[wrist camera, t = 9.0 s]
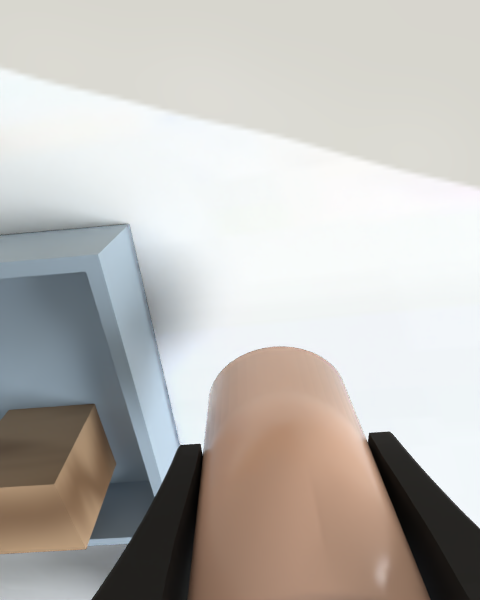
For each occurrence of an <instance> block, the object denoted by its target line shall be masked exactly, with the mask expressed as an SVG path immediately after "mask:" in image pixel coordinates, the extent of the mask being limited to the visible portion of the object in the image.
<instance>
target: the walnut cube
mask: <svg viewBox="0 0 480 600" xmlns="http://www.w3.org/2000/svg"><path fill="white" fill-rule="evenodd" d="M115 466H116V461H115V459H114V456H113V453H112V450H111V448H110V445H109V442H108V439H107V436H106V434H105V431H104V428H103V425H102V423H101V420H100V417H99V414H98V411H97V409H96V406H95V404H84V405H69V406H55V407H41V408H27V409H13V410H8V411H7V413H6V414H5V415H4V417H3V418H2V419H1V420H0V554H9V553H27V552H46V551H64V550H82V549H86V548H87V546H88V543H89V540H90V537H91V534H92V531H93V529H94V526H95V523H96V520H97V517H98V514H99V512H100V509H101V506H102V503H103V500H104V498H105V495H106V492H107V489H108V486H109V483H110V481H111V478H112V475H113V472H114V469H115Z"/></svg>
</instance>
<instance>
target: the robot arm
mask: <svg viewBox="0 0 480 600" xmlns="http://www.w3.org/2000/svg"><path fill="white" fill-rule="evenodd" d="M368 445H369V447H370V450H371V452H372V455H373V457H374V460H375V462H376V465H377V467H378V470H379V472H380V475H381V477H382V480H383V482H384V485H385V487H386V490H387V492H388V495H389V497H390V500H391V502H392V504H393V507H394V509H395V512H396V514H397V517H398V519H399V522H400V524H401V527H402V529H403V532H404V534H405V537H406V539H407V542H408V544H409V547H410V549H411V552H412V554H413V557H414V559H415V562H416V564H417V567H418V569H419V572H420V574H421V577H422V579H423V582H424V584H425V587H426V589H427V592H428V594H429V597H430V599H431V600H480V528H479V527H478V526H477V525H476V524H475V523H474V522H473V521H471V520H470V519H469V518H468V517H467V516H466V515H465V514H464V513H463V512H462V511H461V510H460V509H459V507H458V506H457V505H456V504H455V503H454V502H453V501H452V500H451V499H450V498H449V497H448V496H447V495H446V494H445V493H444V492H443V491H442V490H441V489H440V488H439V486H438V485H437V484H436V483H435V482H434V481H433V480H432V479H431V478H430V477H429V476H428V475H427V473H426V472H425V471H424V470H423V469H422V468H421V467H420V466H419V464H418V463H417V462H416V461H415V460H414V459H413V458H412V456H411V455H410V454H409V453H408V452H407V451H406V449H405V448H404V447H403V446H402V445H401V443H400V442H399V441H398V440H397V439H396V437H395V436H394V435H393V434H392V433H391V432H377V433H369V439H368ZM202 459H203V455H202V450H201V444H190V445H180V446H179V447H178V448H177V451H176V453H175V456H174V458H173V460H172V463H171V465H170V467H169V469H168V471H167V474H166V476H165V478H164V480H163V482H162V484H161V486H160V488H159V490H158V492H157V494H156V496H155V498H154V499H153V501H152V503H151V505H150V507H149V509H148V511H147V513H146V514H145V516H144V518H143V520H142V522H141V523H140V525H139V527H138V528H137V530H136V532H135V533H134V535H133V537H132V538H131V540H130V542H129V544H128V545H127V547H126V549H125V550H124V552H123V553H122V555H121V557H120V558H119V560H118V561H117V563H116V564H115V566H114V567H113V569H112V571H111V572H110V574H109V575H108V576H107V578H106V579H105V581H104V582H103V584H102V585H101V587H100V588H99V590H98V591H97V593H96V594H95V595H94V597H93V598H92V600H187V599H188V590H189V580H190V571H191V561H192V552H193V543H194V533H195V524H196V515H197V505H198V496H199V487H200V477H201V468H202Z"/></svg>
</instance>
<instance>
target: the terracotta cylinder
mask: <svg viewBox="0 0 480 600" xmlns="http://www.w3.org/2000/svg"><path fill="white" fill-rule="evenodd" d="M187 600H431V599H430V597H429V594H428V592H427V589H426V587H425V584H424V582H423V579H422V577H421V574H420V572H419V569H418V567H417V564H416V562H415V559H414V557H413V554H412V552H411V549H410V547H409V544H408V542H407V539H406V537H405V534H404V532H403V529H402V527H401V524H400V522H399V519H398V517H397V514H396V512H395V509H394V507H393V504H392V502H391V500H390V497H389V495H388V492H387V490H386V487H385V485H384V482H383V480H382V477H381V475H380V472H379V470H378V467H377V465H376V462H375V460H374V457H373V455H372V452H371V450H370V447H369V445H368V442H367V440H366V437H365V435H364V432H363V430H362V427H361V425H360V422H359V420H358V417H357V415H356V412H355V410H354V407H353V405H352V402H351V400H350V397H349V395H348V392H347V390H346V388H345V385H344V383H343V380H342V378H341V376H340V375H339V373H338V371H337V370H336V369H335V368H334V367H333V366H332V365H331V364H330V363H329V362H328V361H326V360H325V359H323V358H322V357H320V356H318V355H316V354H314V353H312V352H309V351H306V350H303V349H299V348H294V347H268V348H262V349H258V350H254V351H252V352H249V353H246V354H244V355H242V356H240V357H238V358H237V359H235V360H234V361H232V362H231V363H229V364H228V365H227V366H226V367H225V368H224V369H223V370H222V371H221V372H220V373H219V374H218V376H217V378H216V379H215V381H214V383H213V385H212V387H211V390H210V394H209V403H208V412H207V421H206V431H205V440H204V449H203V459H202V468H201V477H200V487H199V496H198V505H197V515H196V524H195V533H194V543H193V552H192V561H191V571H190V580H189V590H188V599H187Z"/></svg>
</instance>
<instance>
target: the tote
mask: <svg viewBox="0 0 480 600" xmlns="http://www.w3.org/2000/svg"><path fill="white" fill-rule="evenodd" d="M84 404H95V406H96V409H97V411H98V414H99V417H100V420H101V423H102V425H103V428H104V431H105V434H106V436H107V439H108V442H109V445H110V448H111V450H112V453H113V456H114V459H115V461H116V466H115V469H114V472H113V475H112V478H111V481H110V483H109V486H108V489H107V492H106V495H105V498H104V500H103V503H102V506H101V509H100V512H99V514H98V517H97V520H96V523H95V526H94V529H93V531H92V534H91V537H90V540H89V543H88V546H95V545H114V544H129V542H130V540H131V538H132V537H133V535H134V533H135V532H136V530H137V528H138V527H139V525H140V523H141V522H142V520H143V518H144V516H145V514H146V513H147V511H148V509H149V507H150V505H151V503H152V501H153V499H154V498H155V496H156V494H157V492H158V490H159V488H160V486H161V484H162V482H163V480H164V478H165V476H166V474H167V471H168V469H169V467H170V465H171V463H172V460H173V458H174V456H175V453H176V451H177V448H178V447H179V446H180V443H179V439H178V435H177V430H176V426H175V422H174V417H173V413H172V408H171V404H170V400H169V395H168V391H167V387H166V382H165V378H164V374H163V369H162V365H161V361H160V356H159V352H158V347H157V343H156V339H155V334H154V330H153V326H152V321H151V317H150V313H149V308H148V304H147V300H146V295H145V291H144V286H143V282H142V278H141V273H140V269H139V265H138V260H137V256H136V252H135V247H134V243H133V239H132V234H131V230H130V225H129V224H125V225H113V226H101V227H90V228H78V229H67V230H55V231H44V232H32V233H21V234H9V235H0V420H1V419H2V418H3V417H4V415H5V414H6V413H7V411H8V410H13V409H27V408H41V407H55V406H69V405H84Z"/></svg>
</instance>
